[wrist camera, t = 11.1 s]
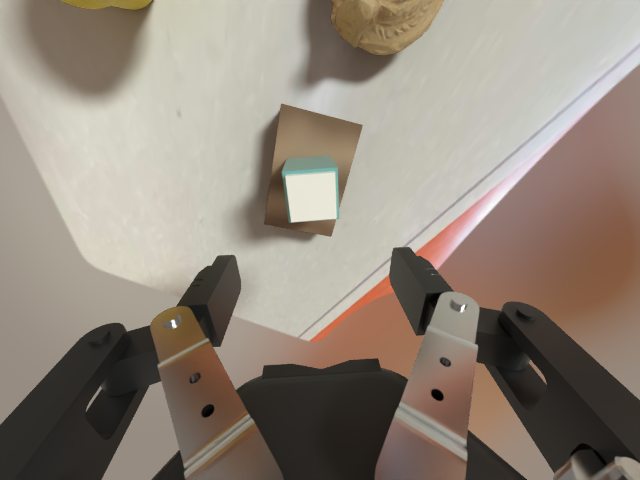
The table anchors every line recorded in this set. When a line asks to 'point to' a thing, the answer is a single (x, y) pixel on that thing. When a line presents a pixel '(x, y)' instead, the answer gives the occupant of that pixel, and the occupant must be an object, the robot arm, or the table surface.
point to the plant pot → (108, 3)
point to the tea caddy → (311, 188)
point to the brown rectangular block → (307, 141)
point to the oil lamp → (383, 22)
